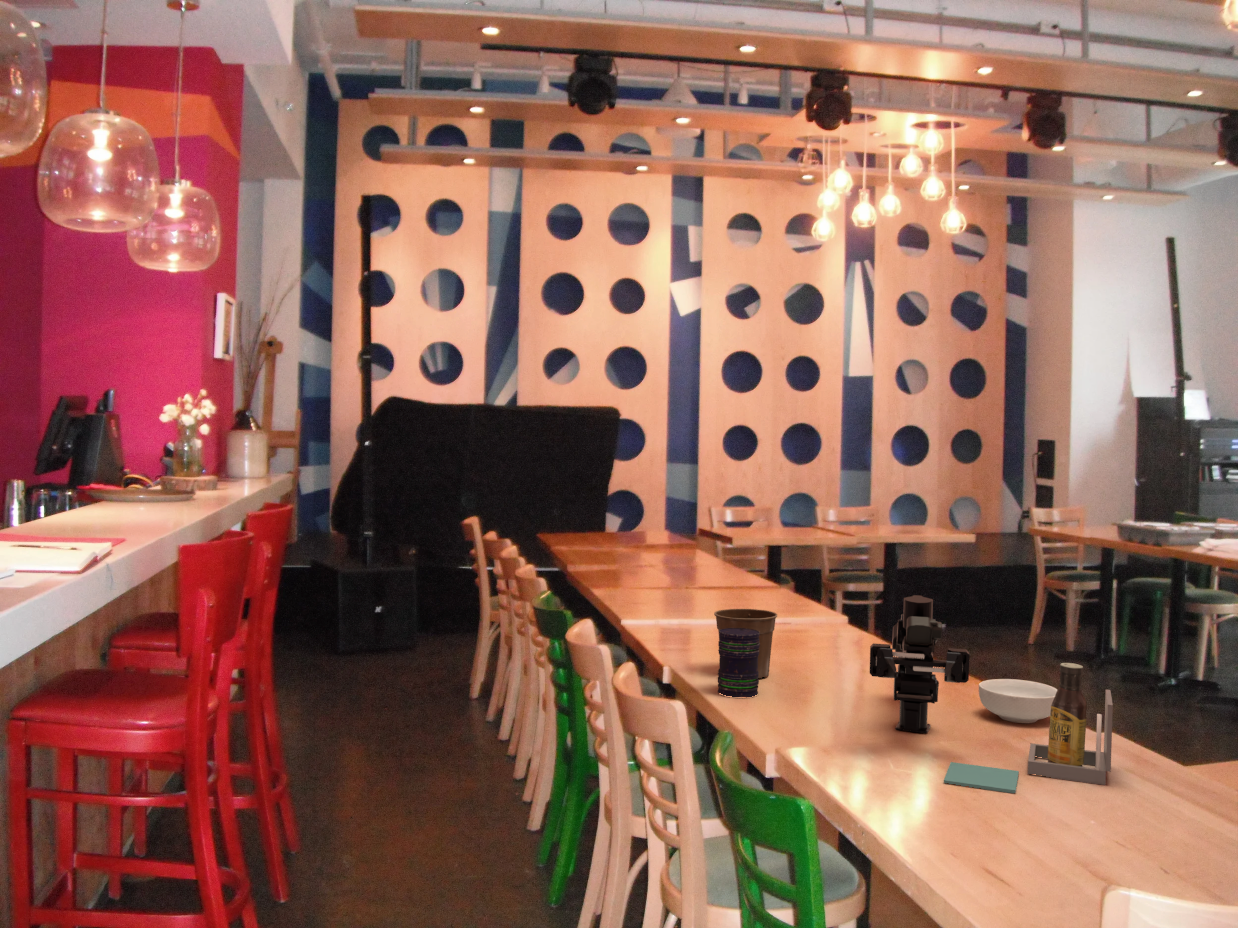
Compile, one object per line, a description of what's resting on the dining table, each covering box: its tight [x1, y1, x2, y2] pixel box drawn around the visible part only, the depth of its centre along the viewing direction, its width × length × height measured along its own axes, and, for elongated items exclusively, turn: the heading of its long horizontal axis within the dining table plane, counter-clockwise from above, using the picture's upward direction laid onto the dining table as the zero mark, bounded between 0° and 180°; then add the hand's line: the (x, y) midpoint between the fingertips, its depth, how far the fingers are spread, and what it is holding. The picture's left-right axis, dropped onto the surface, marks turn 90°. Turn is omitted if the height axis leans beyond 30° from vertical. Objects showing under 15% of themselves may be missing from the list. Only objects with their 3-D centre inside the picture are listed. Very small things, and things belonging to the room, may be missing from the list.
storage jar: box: [717, 628, 760, 698], centre depth 251 cm, size 10×10×15 cm
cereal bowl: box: [978, 678, 1058, 724], centre depth 233 cm, size 17×17×7 cm
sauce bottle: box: [1047, 662, 1088, 767], centre depth 196 cm, size 7×6×20 cm
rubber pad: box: [943, 761, 1020, 794], centre depth 190 cm, size 12×12×1 cm
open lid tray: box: [1027, 689, 1114, 786], centre depth 196 cm, size 13×14×14 cm
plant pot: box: [714, 608, 778, 679], centre depth 271 cm, size 16×16×16 cm
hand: (920, 676), depth 197 cm, fingers open, 9 cm apart
